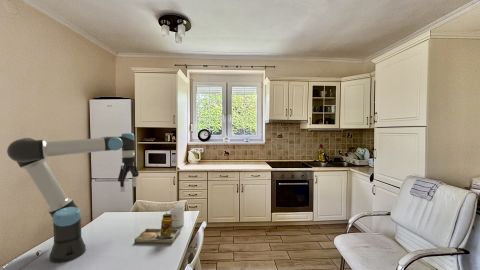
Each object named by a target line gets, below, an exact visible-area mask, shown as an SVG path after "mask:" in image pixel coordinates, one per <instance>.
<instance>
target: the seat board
mask: <svg viewBox="0 0 480 270" xmlns="http://www.w3.org/2000/svg"><path fill="white" fill-rule="evenodd" d="M160 233H161V228H145V229H144V230H143V231H142V232H141V233H139V235H137V236H136V237H135V238H134V244H146V245H147V244H148V245H149V244H150V245H151V244H154V245H172V244H173V243H174V242H175V240H176V239H177V238H178V237H179V235H180V233H181V228H172V229H171V234H172V235H173V236H170V237H162V238H161V237H160V236H159V235H158V234H160Z"/></svg>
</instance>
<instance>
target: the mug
mask: <svg viewBox="0 0 480 270" xmlns="http://www.w3.org/2000/svg"><path fill="white" fill-rule="evenodd" d="M184 210H185V208H183V207H182V206H177V207H176V206H175V207H172V208H171V209H170V210H167V211H165V214H168V213H169V214H171V215H172V228H173V229H179V228H181V227H182V226H183V225H184V224H185V211H184Z"/></svg>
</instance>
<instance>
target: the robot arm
mask: <svg viewBox="0 0 480 270" xmlns="http://www.w3.org/2000/svg"><path fill="white" fill-rule="evenodd" d="M135 140H136V139H135V134H134V133H131V132H129V133H127V132H124V133H121V136H101V137H98V138H97V137H96V138H95V137H94V138H82V139H81V138H80V139H68V140H66V139H65V140H51V141H46V140H45V139H38V140H37V139H34V138H31V137H25V138H20V139H16V140H14V141H12V142H11V143H10V144H9V145H8V147H7V148H6V153H7V155H8V157H9V158H10V159H11V160H12V161H14V162H16V163H17V165H18V166H19V168H20V169H25V170H26V172H27V174H28V175H29V176H30V178H31V179H32V181H33V182H34V184H35V186H36V188H37V189H38V191H39V193H41V195H42V197H43V199H44V200H45V202H46V204H47V205H48V211H47V212H48V214H49V215H50V216H51V217H52V222H53V223H52V224H53V225H52V226H53V229H52V230H53V231H52V232H53V245H52V248H51V251H50V254H49V261H50V262H52V263H64V262H65V263H66V262H68V261H72V260H75V259H77V258H79V257H81V256H82V255H83V254H85V253H86V250H87V248H86V247H87V246H86V244H85V242H84V240H83V237H82V212H81V208H79V206H78V205H76V204H75V202H74V200H73V198H70V197H68V196H67V195H66V192H65V191H64V190H63V188H62V186H61V185H60V183H59V182H58V180H57V178H56V176H55V175H54V173H53V171H52V170H51V168H50V166H49V165H48V163H47V162H46V160H47V158H48V157H57V156H67V155H76V154H78V155H79V154H85V153H97V152H105V151H106V152H108V151H110V152H111V151H119V150H121V162H122V164H123V165H120V170H119V174H118V177H117V182H119V184H120V193H125V192H126V178H127V175H128V173H129V172H130V173H131V175H132V179H131V180H132V187H137V186H138V180H137V179H138V178H137V177H139V175H140V174H139V171H138V167H137V163H136V159H135V158H136V157H135V156H136V155H135V153H136V151H135V149H136V148H135V147H136V146H135V145H136V144H135Z"/></svg>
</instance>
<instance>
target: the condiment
mask: <svg viewBox="0 0 480 270" xmlns="http://www.w3.org/2000/svg"><path fill="white" fill-rule="evenodd" d="M160 223H161V225H160V229H161V233H160V234H158V235H159V236H160V237H161V238H162V237H170V236H173V235H172V234H171V229H173V227H172V215H171V214H170V213H167V214H166V213H164V214H163V215H162V219H161V222H160Z"/></svg>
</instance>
